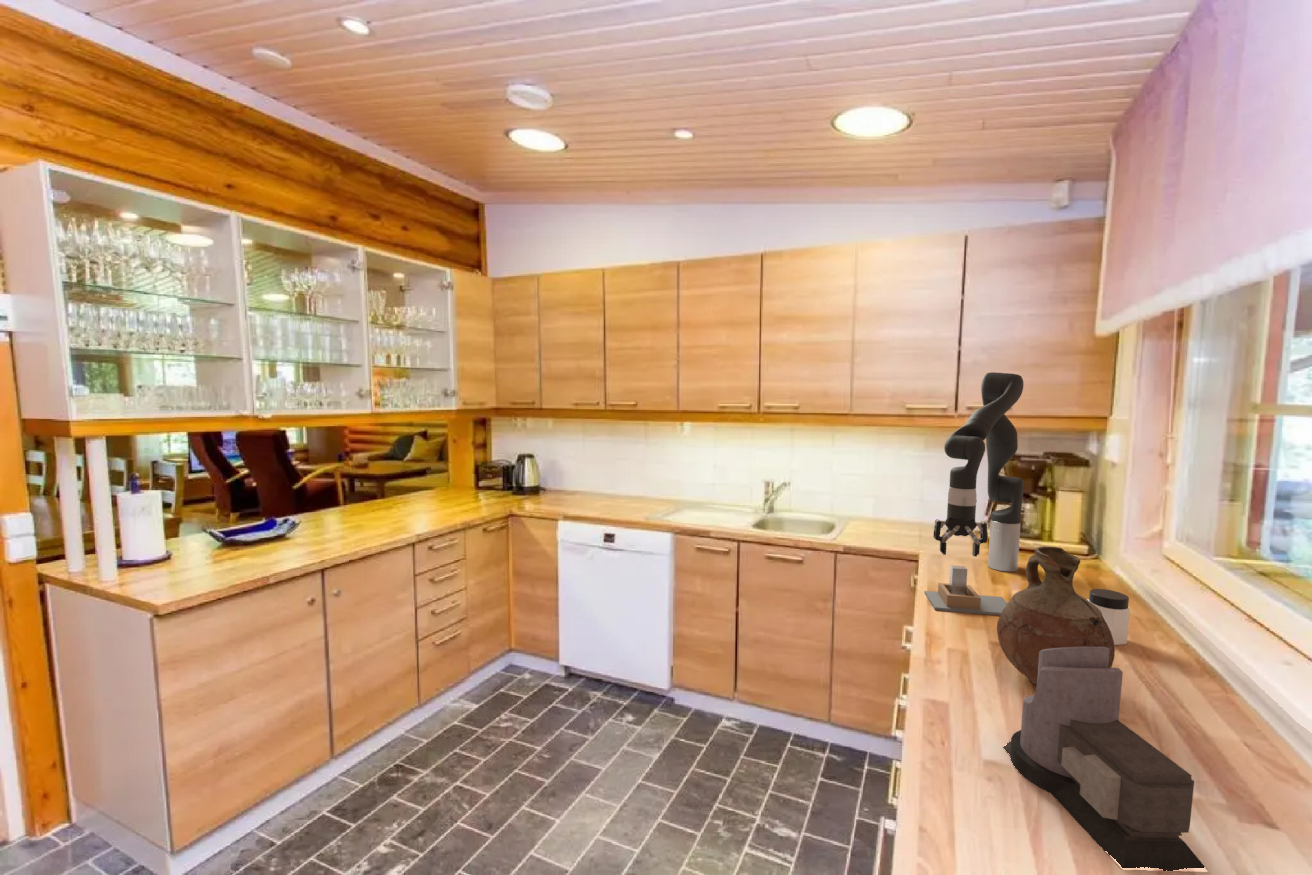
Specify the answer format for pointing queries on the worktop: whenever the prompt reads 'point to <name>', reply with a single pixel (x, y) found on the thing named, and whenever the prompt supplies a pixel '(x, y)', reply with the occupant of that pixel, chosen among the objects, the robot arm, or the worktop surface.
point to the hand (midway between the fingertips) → (959, 554)
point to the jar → (1113, 612)
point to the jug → (1050, 614)
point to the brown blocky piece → (1102, 762)
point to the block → (958, 580)
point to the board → (965, 601)
